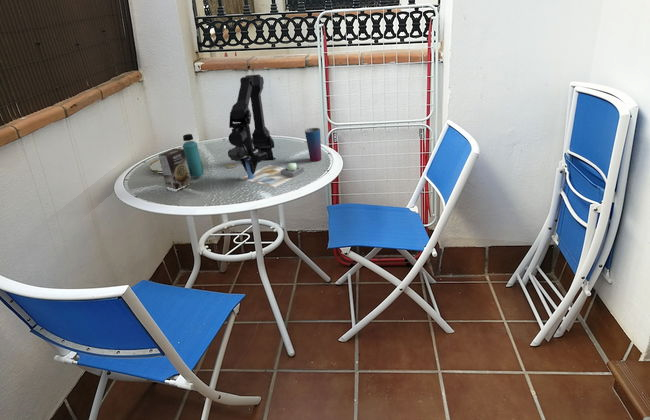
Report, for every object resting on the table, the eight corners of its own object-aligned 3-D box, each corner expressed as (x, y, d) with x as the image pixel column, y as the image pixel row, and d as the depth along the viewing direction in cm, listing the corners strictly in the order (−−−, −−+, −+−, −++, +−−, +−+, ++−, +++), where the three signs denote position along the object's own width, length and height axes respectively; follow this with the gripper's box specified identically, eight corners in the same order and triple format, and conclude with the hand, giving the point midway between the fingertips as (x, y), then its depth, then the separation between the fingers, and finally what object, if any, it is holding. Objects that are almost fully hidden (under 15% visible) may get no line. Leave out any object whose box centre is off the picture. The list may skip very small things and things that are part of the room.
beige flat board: (237, 181, 208) (236, 179, 208) (269, 166, 222) (269, 163, 221) (275, 190, 194) (275, 188, 194) (307, 173, 208) (307, 171, 207)
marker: (246, 178, 207) (243, 160, 204) (251, 176, 209) (248, 158, 206) (251, 179, 205) (248, 161, 202) (256, 177, 208) (253, 159, 204)
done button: (285, 171, 207) (284, 165, 205) (292, 168, 209) (291, 162, 208) (292, 173, 204) (291, 166, 203) (298, 170, 207) (298, 163, 206)
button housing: (281, 175, 207) (280, 170, 206) (292, 169, 212) (291, 165, 211) (293, 177, 203) (292, 173, 202) (304, 171, 207) (303, 167, 207)
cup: (321, 164, 217) (318, 131, 210) (307, 164, 218) (303, 132, 212) (324, 159, 223) (321, 127, 216) (310, 159, 224) (306, 128, 218)
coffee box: (177, 192, 203) (167, 156, 197) (166, 190, 207) (157, 154, 200) (192, 184, 210) (184, 149, 203) (182, 182, 214) (174, 147, 207)
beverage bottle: (207, 175, 219) (198, 132, 210) (199, 180, 213) (189, 137, 205) (195, 174, 221) (185, 132, 213) (187, 180, 215) (176, 137, 207)
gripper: (214, 141, 200) (222, 176, 207) (245, 146, 189) (252, 183, 195) (234, 133, 208) (241, 167, 214) (265, 138, 196) (271, 174, 203)
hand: (250, 173), depth 207 cm, fingers closed on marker, 3 cm apart
